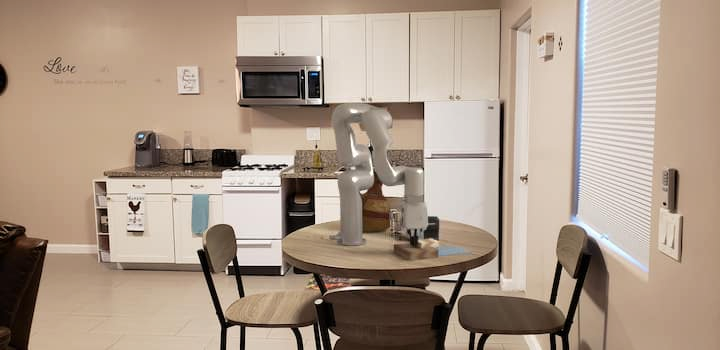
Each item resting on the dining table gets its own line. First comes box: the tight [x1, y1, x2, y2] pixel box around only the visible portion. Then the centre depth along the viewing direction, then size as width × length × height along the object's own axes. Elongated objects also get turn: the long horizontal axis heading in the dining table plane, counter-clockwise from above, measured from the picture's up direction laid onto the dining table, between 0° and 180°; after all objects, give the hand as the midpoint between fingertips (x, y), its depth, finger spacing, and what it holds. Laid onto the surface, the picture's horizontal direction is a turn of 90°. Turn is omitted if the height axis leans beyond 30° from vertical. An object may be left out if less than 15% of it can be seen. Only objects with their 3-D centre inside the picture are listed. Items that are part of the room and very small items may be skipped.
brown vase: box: [359, 168, 392, 233], centre depth 263 cm, size 20×20×30 cm
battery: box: [423, 215, 440, 242], centre depth 238 cm, size 7×4×11 cm, turn 87°
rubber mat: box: [434, 245, 472, 257], centre depth 223 cm, size 16×12×1 cm
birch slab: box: [417, 239, 440, 248], centre depth 219 cm, size 8×6×2 cm
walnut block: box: [393, 242, 439, 262], centre depth 217 cm, size 12×15×3 cm
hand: (413, 245), depth 217 cm, fingers closed
